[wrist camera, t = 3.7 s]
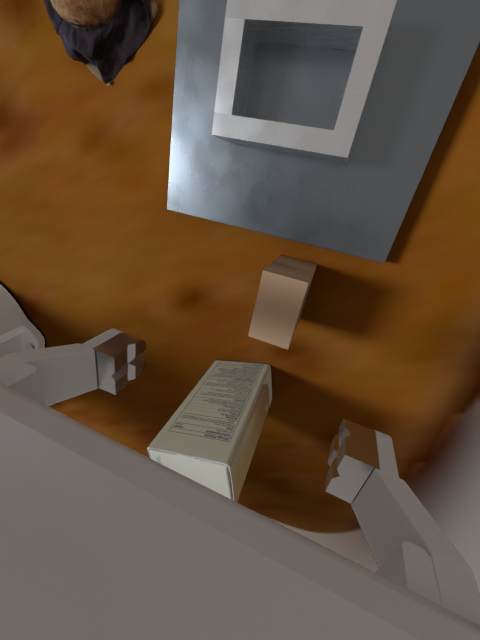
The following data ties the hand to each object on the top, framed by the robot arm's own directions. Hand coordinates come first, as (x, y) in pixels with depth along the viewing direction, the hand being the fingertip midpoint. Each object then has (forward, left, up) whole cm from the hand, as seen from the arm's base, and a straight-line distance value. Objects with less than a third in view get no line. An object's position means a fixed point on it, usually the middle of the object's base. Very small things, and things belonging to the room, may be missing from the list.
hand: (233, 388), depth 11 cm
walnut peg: (0, 0, -15) cm, 15 cm away
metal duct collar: (+13, +3, -15) cm, 20 cm away
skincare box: (-11, +2, -15) cm, 19 cm away
